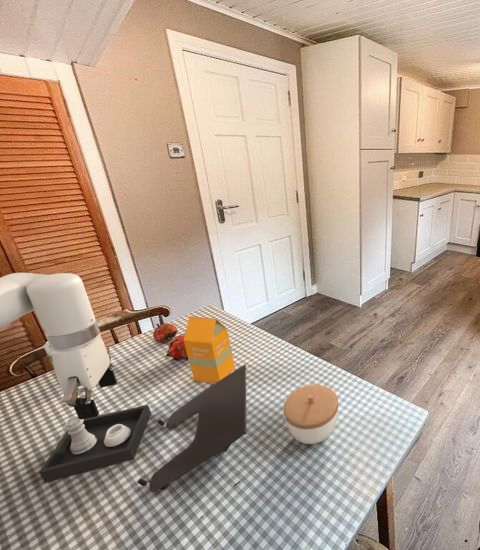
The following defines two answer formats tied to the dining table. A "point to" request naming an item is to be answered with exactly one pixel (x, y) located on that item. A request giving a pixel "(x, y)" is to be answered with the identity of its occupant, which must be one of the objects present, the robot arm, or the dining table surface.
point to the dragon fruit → (177, 349)
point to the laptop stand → (206, 427)
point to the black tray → (97, 445)
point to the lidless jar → (117, 435)
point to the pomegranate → (164, 332)
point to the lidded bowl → (311, 413)
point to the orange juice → (208, 349)
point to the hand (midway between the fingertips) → (99, 400)
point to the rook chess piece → (79, 436)
